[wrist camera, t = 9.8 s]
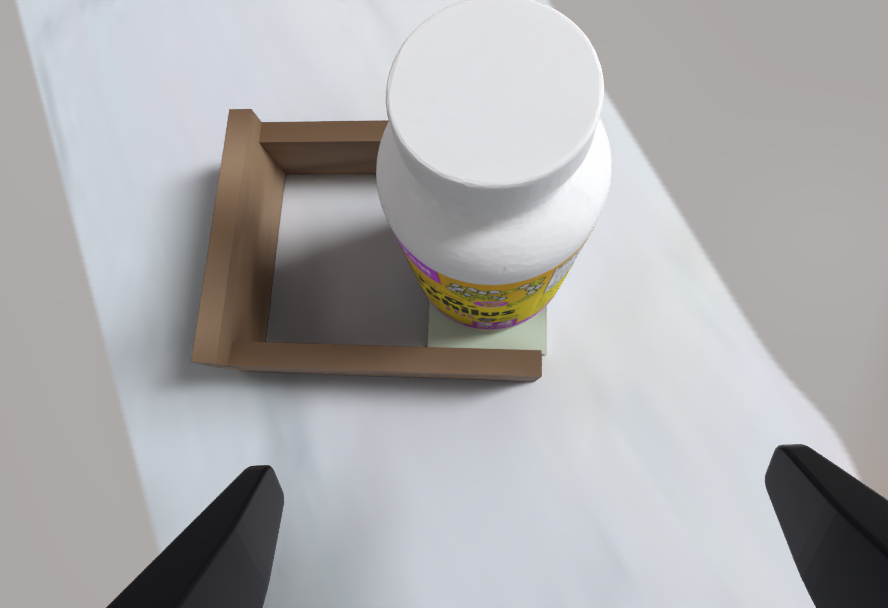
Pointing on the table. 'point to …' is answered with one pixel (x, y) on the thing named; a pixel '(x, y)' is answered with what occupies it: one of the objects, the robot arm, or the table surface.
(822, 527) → the robot arm
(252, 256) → the bay
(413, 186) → the supplement bottle
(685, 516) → the table surface
